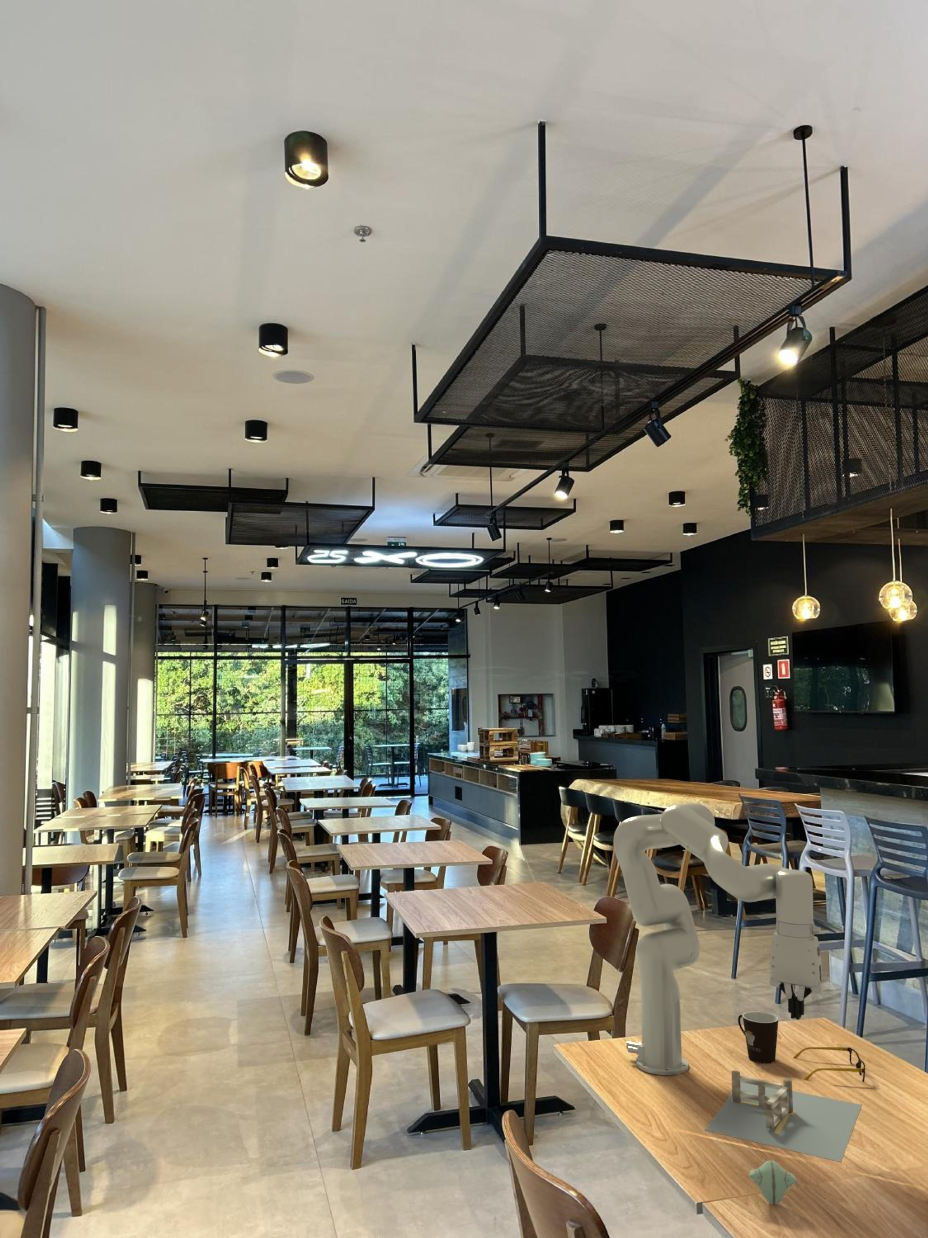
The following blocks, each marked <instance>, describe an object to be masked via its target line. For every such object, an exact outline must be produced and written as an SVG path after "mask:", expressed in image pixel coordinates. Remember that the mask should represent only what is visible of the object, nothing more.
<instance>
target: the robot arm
mask: <svg viewBox="0 0 928 1238" xmlns="http://www.w3.org/2000/svg"><path fill="white" fill-rule="evenodd" d="M678 845H680V846H681V847H683V848H685V849H686V851H688V852H690V853H691V854H692V855H694V856H695V857H696V858H698V859H699V860H701V861H702V862H703V863H704V867H705V869H706V872H707V873H708V876H710V878H711V880H712V881H713V882H714V883H715V884H717V885H718V886H719V887H720V888H722V889H723V890H724V891H726V893H728V894H730V895H732V896H733V897H734V898H736V899H737V900H740V901H743V902H745V903H752V902H753V903H755V902H758V901H764V900H772V899H775V908H776V909H775V912H776V913H775V916H776V917H775V918H776V920H775V921H776V922H775V923H776V924H775V925H776V927H775V928H776V931H774V932H773V936H772V941H771V949H770V958H769V959H770V960H769V976H770V979H769V984H770V985H772V986H773V987H775V988H779V989H780V990H781V991H782V993H784V995H785V997H786V999H787V1012H788V1013H789V1014H790V1019H793V1020H794V1019H795V1020H797V1021H800V1020H801V1018H802V1016H804V1014H805V999H806V998H807V997H809V995H812V994H813V995H814V994H815V995H816V994H821V993H822V992H823V991H824V990H823V986H822V980H823V966H822V965H823V964H822V957H821V956H822V955H821V948H820V943H819V939H818V938H819V937H817V936H815V934H819V935H820V934H821V931H822V930H821V927H820V926H817V925H816V924H815V922H814V895H813V894H814V893H813V892H814V889H813V887H814V886H813V885H814V884H813V878H812V875H811V873H809V872H807V871H804V870H801V869H789V868H786V867H783V866H781V865H778V864H774V863H760V864H754V865H753V864H752V865H748V866H745V865H743V863H740V862H738V861H737V860H736V859H734V858H733V857H731V856H730V855H729V854H728V853H727V852H726V851H727V850H728V846H729V838H728V835H727V833H725V831H723V830H721V828H719V827H717V826H716V822H715V816H714V814H713V812H712V811H711V810H710V808H709V807H707V806H706V805H703V804H701V803H697V802H695V803H680V804H674V805H671V806H669V807H667V808H666V809H664V811H663V812H662V813H661V814H659V813H658V814H656V813H655V814H646V815H645V814H644V815H636V816H632V817H629V818H627V819H624V820H623V821H621V822H620V823H619V825H618V826H617V828H616V829H615V831H614V835H613V848H614V854H615V857H616V860H617V862H618V864H619V868H620V871H621V872H622V877H623V882H624V885H625V890H626V893H627V898H628V903H629V906H630V911H631V913H632V917H633V919H634V921H635V922H636V923H637V924H638V926H641V927H644V928H646V927H647V928H648V927H649V928H650V927H655V926H662V927H663V929H662V930H657V931H653V932H650V933H647V934H645V935H643V936H642V937H641V938H640V939H639V940H638V942H637V944H636V946H635V947H636V948H635V959H636V964H637V968H638V975H639V984H640V985H639V986H640V1006H641V1008H640V1009H641V1010H640V1011H641V1012H640V1017H641V1042H639V1043H637V1042H635V1041H630V1040H628V1041H626V1049H627V1053H632V1054H636V1055H637V1057H636V1058H635V1064H636V1065H635V1066H637V1068H638V1069H640V1070H641V1071H644V1072H645V1073H649V1074H652V1075H658V1076H676V1075H679V1074H682V1073H685V1072H687V1071H688V1070H689V1061H688V1060H687V1059H686V1058H685V1057H683V1056H682V1054H683V1051H682V1048H683V1046H682V1017H681V1016H682V1015H681V1014H682V1010H681V992H680V991H681V990H680V987H679V984H678V981H677V979H676V976H675V974H674V971H676V970H679V969H684V968H686V967H690V966H692V965H694V964H695V963H696V962H697V961H698V959H699V958H700V953H701V951H700V950H701V947H700V941H699V937H698V931H697V929H696V926H695V922H694V917H693V913H692V910H691V906H690V903H689V901H688V898H687V896H686V894H685V893H684V891H683V890H682V889H680V887H678V886H677V885H675V884H671V883H664V884H663V883H662V884H661V883H660V880H659V877H658V873H657V869H656V867H655V864H654V863H653V861H652V859H651V858H650V857H649V856H648V855H647V854H646V850H653V849H661V848H670V847H675V846H678ZM794 986H798V990H797V991H798V992H797V995H796V993H795V987H794Z"/></svg>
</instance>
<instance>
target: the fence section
mask: <svg viewBox="0 0 928 1238" xmlns="http://www.w3.org/2000/svg"><path fill="white" fill-rule="evenodd" d="M740 1082H743V1083H748V1084H753V1085H758V1094H754V1093H750V1092H745V1091H741V1086H740ZM783 1086H784V1087H788V1088H789V1110H790V1112H789V1113H793V1096H792V1091H793V1080H792V1079H790V1078H783V1079H782V1083H780V1082H776V1081H770V1080H766V1079H761V1078H755V1077H750V1076H746V1075H741V1072H740V1071H739V1070H731V1093H732V1100H733V1101H734V1102H740V1101H741V1097H742V1098H747V1099H751V1100H756V1101H759V1107H763V1108H765V1106H766V1105H765V1103H766V1102H767V1101H768V1100H769V1099H770V1098H771V1097H769V1096H765V1087H768V1088H773V1089H778V1090H780V1089H781V1088H782V1087H783ZM781 1105H782V1101H781Z"/></svg>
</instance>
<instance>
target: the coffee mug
mask: <svg viewBox="0 0 928 1238" xmlns="http://www.w3.org/2000/svg"><path fill="white" fill-rule="evenodd" d="M741 1019H742V1022H743V1026H742V1024H741ZM737 1023H738V1026H739V1029H740V1030H741V1032H742V1034H743V1035H744V1037H745V1042H746V1043H745V1044H746V1049H747V1055H748V1056H747V1057H748V1059H749V1060H750V1061H752V1062H754V1063H757V1064H763V1065H767V1064H774V1063H775V1062H776V1057H777V1056H776V1055H777V1044H778V1042H777V1041H778V1033H779V1032H778V1030H779V1029H778V1028H779V1017H778V1016H777V1015H775V1014H772V1013H769V1012H764V1011H747V1012H744V1013H742V1014H740V1015H739V1016H738V1017H737Z"/></svg>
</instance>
